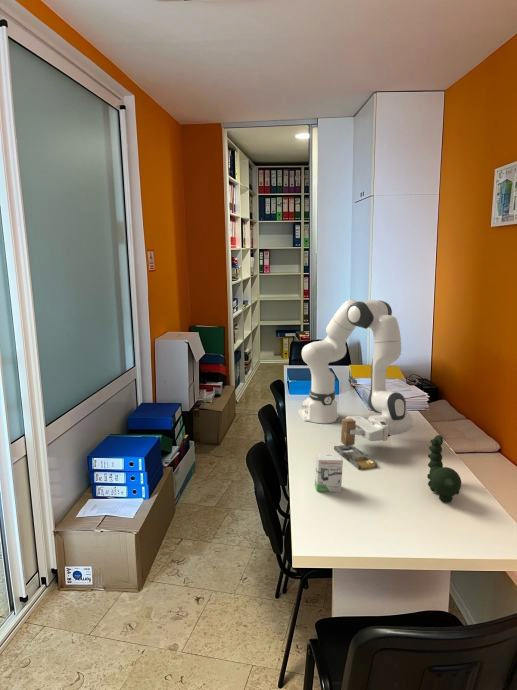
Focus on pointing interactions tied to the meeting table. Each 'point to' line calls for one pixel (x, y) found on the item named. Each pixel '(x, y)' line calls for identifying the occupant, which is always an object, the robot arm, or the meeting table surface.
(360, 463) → the tray
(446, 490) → the toy figurine
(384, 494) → the meeting table surface
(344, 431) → the walnut peg
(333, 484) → the ink box
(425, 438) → the meeting table surface
